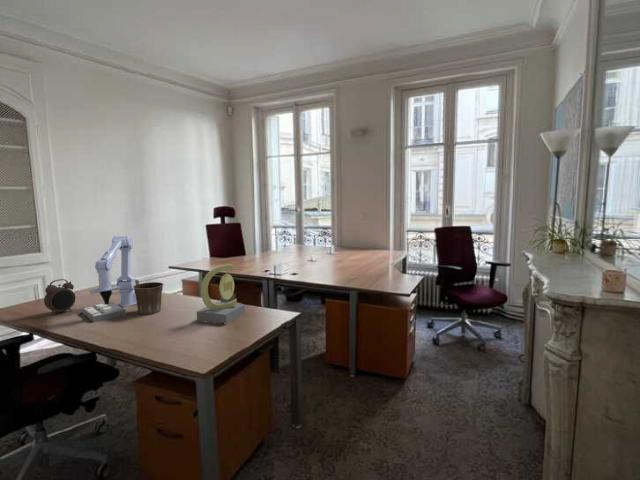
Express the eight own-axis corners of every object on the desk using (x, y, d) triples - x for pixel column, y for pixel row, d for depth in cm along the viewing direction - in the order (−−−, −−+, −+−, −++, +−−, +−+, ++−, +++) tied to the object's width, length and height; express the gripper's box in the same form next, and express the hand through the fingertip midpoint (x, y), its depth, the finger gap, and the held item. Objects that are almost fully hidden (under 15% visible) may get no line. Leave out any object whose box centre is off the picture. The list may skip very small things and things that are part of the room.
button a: (102, 308, 209) (102, 303, 209) (104, 310, 206) (104, 304, 206) (95, 310, 206) (95, 305, 206) (97, 311, 204) (97, 306, 203)
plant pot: (170, 307, 213) (168, 282, 211) (155, 316, 197) (153, 288, 195) (145, 307, 214) (143, 281, 212) (128, 315, 198) (126, 288, 196)
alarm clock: (50, 317, 197) (47, 283, 195) (44, 315, 200) (41, 281, 198) (78, 310, 209) (75, 277, 207) (72, 308, 213) (69, 276, 211)
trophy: (226, 324, 182) (224, 269, 179) (197, 321, 188) (194, 267, 185) (244, 313, 200) (242, 263, 196) (217, 310, 206) (215, 261, 202)
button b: (106, 309, 204) (105, 304, 204) (108, 310, 202) (107, 305, 201) (99, 311, 201) (98, 305, 201) (100, 312, 199) (100, 307, 198)
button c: (110, 311, 199) (109, 306, 199) (112, 313, 197) (111, 307, 196) (102, 313, 197) (102, 308, 196) (104, 315, 194) (104, 309, 194)
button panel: (112, 306, 216) (112, 301, 215) (126, 314, 199) (125, 309, 199) (82, 312, 204) (81, 307, 204) (94, 322, 188) (93, 316, 187)
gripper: (91, 284, 187) (94, 308, 188) (121, 279, 197) (123, 302, 199) (88, 282, 191) (90, 305, 193) (117, 277, 202) (118, 300, 203)
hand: (106, 304), depth 196 cm, fingers closed
